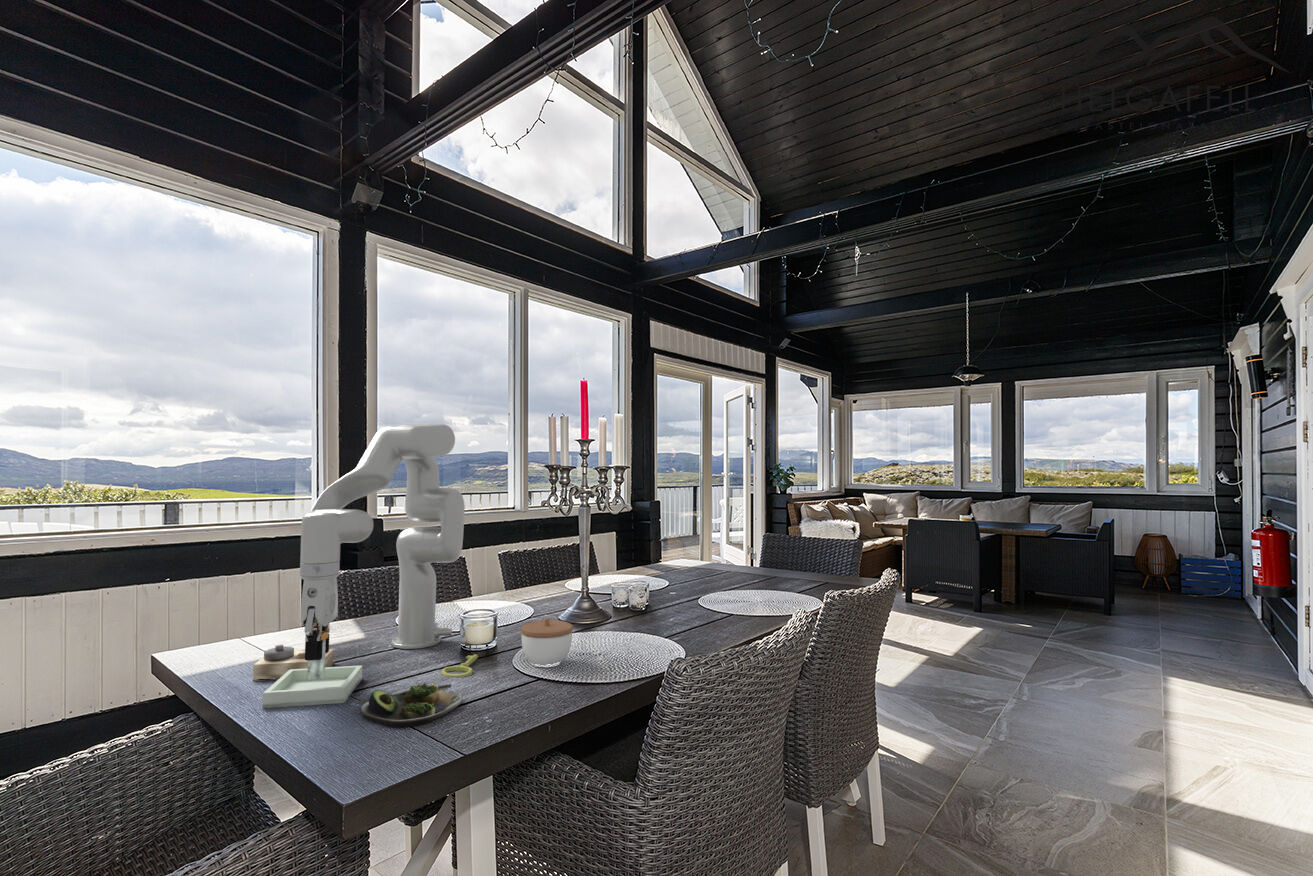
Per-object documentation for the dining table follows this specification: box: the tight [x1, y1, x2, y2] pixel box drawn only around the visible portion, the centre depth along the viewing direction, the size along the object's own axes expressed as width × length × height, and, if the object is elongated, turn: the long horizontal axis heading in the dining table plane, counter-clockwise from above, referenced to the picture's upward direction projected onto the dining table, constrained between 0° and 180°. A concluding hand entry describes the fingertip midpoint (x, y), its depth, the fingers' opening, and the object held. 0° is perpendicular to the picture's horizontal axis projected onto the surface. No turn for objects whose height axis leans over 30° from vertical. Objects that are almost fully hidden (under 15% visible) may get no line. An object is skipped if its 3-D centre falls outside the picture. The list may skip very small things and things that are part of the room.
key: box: [441, 653, 479, 678], centre depth 151 cm, size 7×12×2 cm, turn 8°
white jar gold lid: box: [307, 631, 330, 679], centre depth 134 cm, size 4×4×9 cm
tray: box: [262, 665, 363, 709], centre depth 134 cm, size 15×15×3 cm
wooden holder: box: [252, 644, 335, 681], centre depth 148 cm, size 14×10×6 cm
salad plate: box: [356, 682, 463, 728], centre depth 127 cm, size 19×18×5 cm
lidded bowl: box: [520, 617, 573, 665], centre depth 155 cm, size 13×13×11 cm
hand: (317, 655), depth 134 cm, fingers closed on white jar gold lid, 4 cm apart
